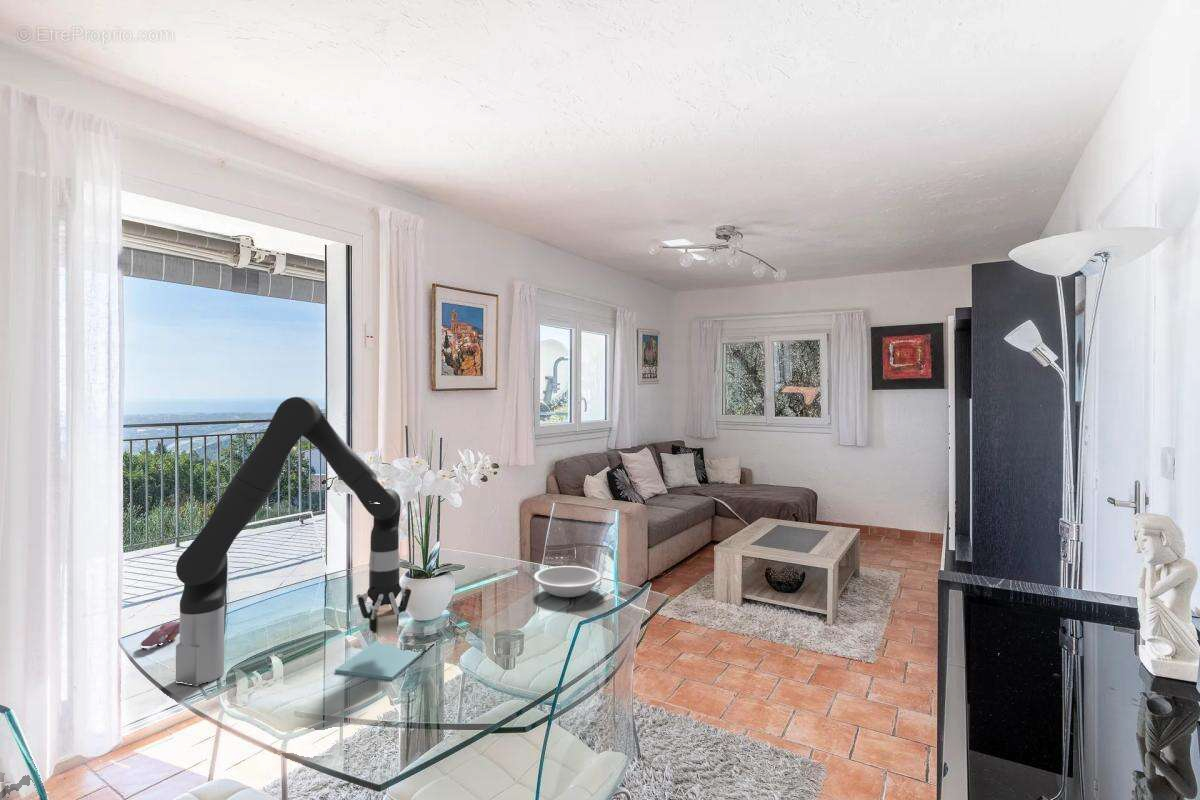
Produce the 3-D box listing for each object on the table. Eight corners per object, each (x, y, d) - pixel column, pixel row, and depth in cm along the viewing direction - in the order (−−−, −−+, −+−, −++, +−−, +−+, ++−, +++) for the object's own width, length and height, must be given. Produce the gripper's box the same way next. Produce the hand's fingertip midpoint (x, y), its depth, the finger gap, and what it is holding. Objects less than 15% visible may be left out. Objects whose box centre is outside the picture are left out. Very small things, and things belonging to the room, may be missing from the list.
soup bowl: (578, 611, 198) (578, 591, 198) (519, 597, 210) (520, 578, 209) (613, 590, 218) (613, 572, 218) (558, 579, 230) (558, 562, 230)
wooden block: (386, 619, 166) (397, 633, 157) (369, 622, 164) (379, 637, 154) (387, 603, 166) (397, 616, 157) (369, 606, 163) (379, 619, 154)
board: (392, 680, 149) (392, 677, 149) (335, 672, 152) (335, 669, 152) (435, 643, 171) (435, 641, 171) (384, 637, 174) (384, 635, 174)
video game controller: (150, 656, 163) (160, 634, 163) (137, 648, 164) (147, 626, 163) (181, 641, 173) (190, 621, 172) (169, 633, 174) (178, 612, 173)
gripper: (358, 573, 152) (358, 641, 152) (415, 565, 160) (415, 629, 160) (352, 566, 158) (352, 630, 159) (408, 558, 166) (407, 620, 166)
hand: (384, 629), depth 159 cm, fingers closed on wooden block, 4 cm apart
